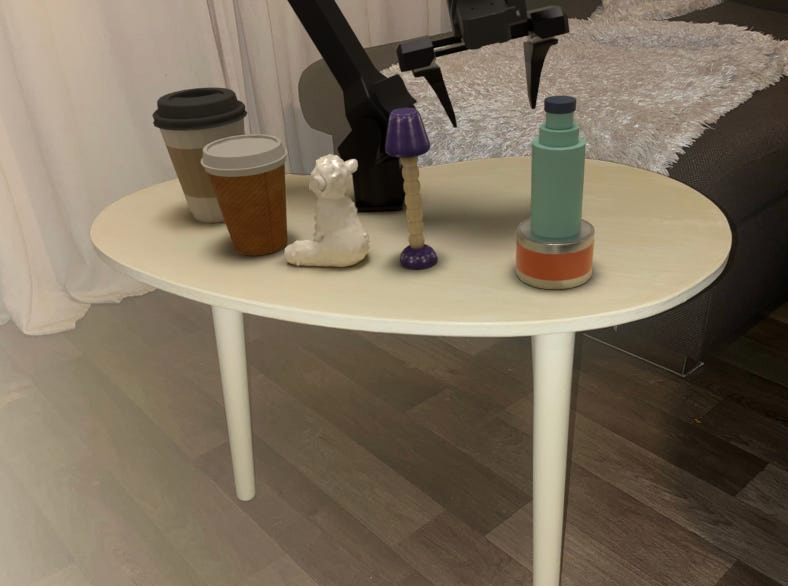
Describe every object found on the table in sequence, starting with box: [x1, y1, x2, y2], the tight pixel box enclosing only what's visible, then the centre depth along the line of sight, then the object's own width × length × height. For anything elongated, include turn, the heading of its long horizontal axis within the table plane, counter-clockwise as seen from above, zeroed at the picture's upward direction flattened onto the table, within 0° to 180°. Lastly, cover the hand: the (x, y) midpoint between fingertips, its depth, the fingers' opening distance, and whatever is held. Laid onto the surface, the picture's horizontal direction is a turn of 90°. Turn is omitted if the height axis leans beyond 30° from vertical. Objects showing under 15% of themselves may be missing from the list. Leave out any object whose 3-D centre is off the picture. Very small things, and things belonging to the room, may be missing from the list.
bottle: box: [530, 95, 587, 238], centre depth 75 cm, size 5×5×13 cm
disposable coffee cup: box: [201, 133, 288, 256], centre depth 87 cm, size 10×10×12 cm
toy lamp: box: [385, 108, 438, 270], centre depth 80 cm, size 5×5×17 cm
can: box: [515, 217, 596, 290], centre depth 80 cm, size 8×8×5 cm
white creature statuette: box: [284, 153, 371, 268], centre depth 83 cm, size 10×9×12 cm
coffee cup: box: [152, 87, 249, 224], centre depth 96 cm, size 11×11×15 cm
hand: (494, 117), depth 87 cm, fingers open, 9 cm apart
